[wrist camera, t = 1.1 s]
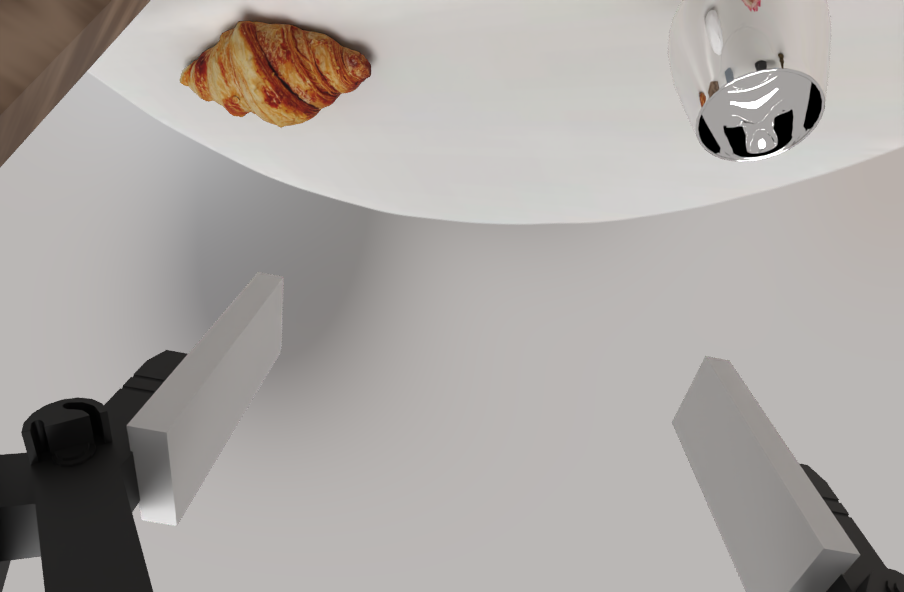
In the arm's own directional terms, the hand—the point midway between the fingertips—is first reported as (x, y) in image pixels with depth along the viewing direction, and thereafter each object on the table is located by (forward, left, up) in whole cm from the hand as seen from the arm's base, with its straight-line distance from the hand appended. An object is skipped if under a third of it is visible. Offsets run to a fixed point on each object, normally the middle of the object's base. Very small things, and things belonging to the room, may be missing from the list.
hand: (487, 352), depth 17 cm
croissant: (+2, -31, -37) cm, 48 cm away
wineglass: (+7, +8, -36) cm, 38 cm away
